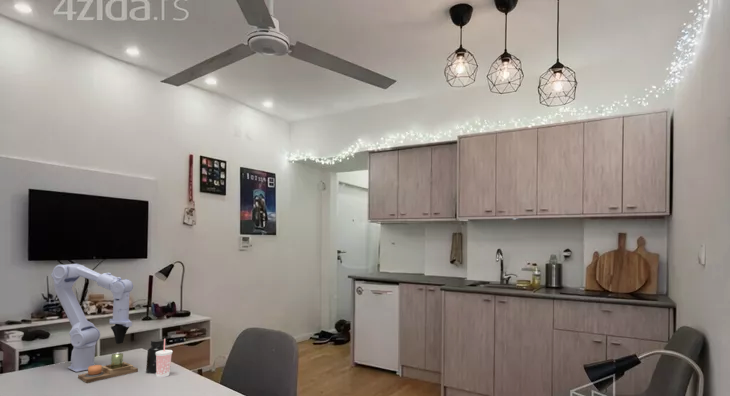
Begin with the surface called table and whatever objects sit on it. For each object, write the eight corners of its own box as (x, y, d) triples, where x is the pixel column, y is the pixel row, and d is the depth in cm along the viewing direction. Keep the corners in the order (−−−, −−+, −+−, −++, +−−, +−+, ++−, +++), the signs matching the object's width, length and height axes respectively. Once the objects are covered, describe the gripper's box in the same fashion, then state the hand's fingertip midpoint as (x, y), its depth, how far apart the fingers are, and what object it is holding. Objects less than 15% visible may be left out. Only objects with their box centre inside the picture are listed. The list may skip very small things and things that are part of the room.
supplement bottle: (157, 374, 167) (159, 342, 168) (142, 372, 168) (143, 341, 170) (168, 368, 174) (170, 338, 175) (153, 367, 175) (155, 338, 176)
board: (77, 378, 161) (78, 370, 162) (127, 367, 175) (128, 360, 176) (86, 383, 156) (87, 375, 156) (137, 371, 170) (138, 364, 170)
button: (85, 373, 162) (86, 366, 162) (98, 370, 165) (99, 364, 165) (90, 375, 159) (90, 368, 159) (103, 372, 162) (103, 366, 163)
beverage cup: (160, 372, 169) (162, 336, 170) (174, 373, 168) (176, 337, 169) (150, 377, 163) (152, 340, 164) (165, 378, 162) (167, 340, 163)
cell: (108, 370, 168) (110, 352, 168) (119, 367, 171) (120, 351, 171) (112, 372, 165) (114, 354, 166) (123, 369, 168) (125, 352, 169)
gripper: (102, 309, 176) (100, 343, 174) (119, 312, 168) (118, 347, 166) (120, 307, 182) (118, 339, 180) (137, 309, 173) (136, 343, 172)
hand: (119, 343), depth 174 cm, fingers closed
